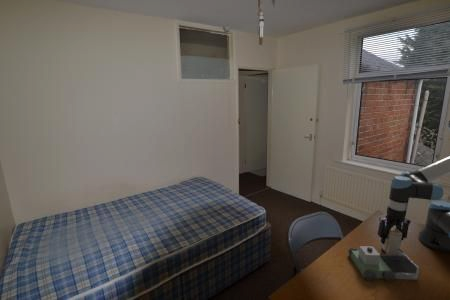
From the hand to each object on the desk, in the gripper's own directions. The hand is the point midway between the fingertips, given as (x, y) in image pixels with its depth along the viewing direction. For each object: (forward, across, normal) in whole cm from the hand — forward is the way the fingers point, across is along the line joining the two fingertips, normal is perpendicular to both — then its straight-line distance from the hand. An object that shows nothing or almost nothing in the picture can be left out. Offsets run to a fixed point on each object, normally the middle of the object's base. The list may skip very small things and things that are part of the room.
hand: (389, 249), depth 117 cm
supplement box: (+2, 0, 0) cm, 2 cm away
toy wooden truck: (+1, +16, +12) cm, 20 cm away
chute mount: (+1, +6, +12) cm, 13 cm away
